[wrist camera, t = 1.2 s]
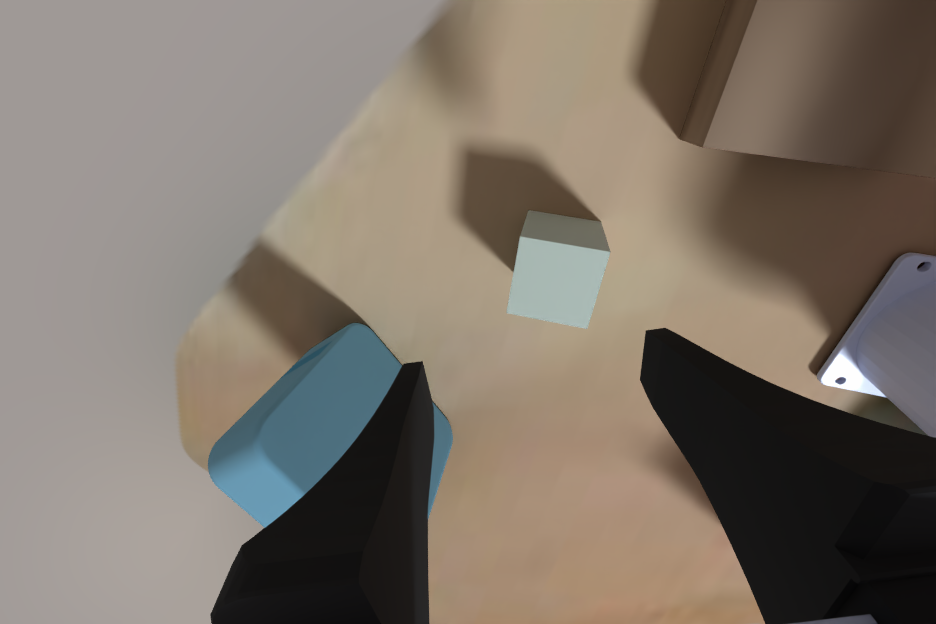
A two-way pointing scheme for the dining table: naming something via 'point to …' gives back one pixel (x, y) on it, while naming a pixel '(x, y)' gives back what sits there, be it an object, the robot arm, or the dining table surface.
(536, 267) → the sage block
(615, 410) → the dining table surface
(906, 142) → the walnut block
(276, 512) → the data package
